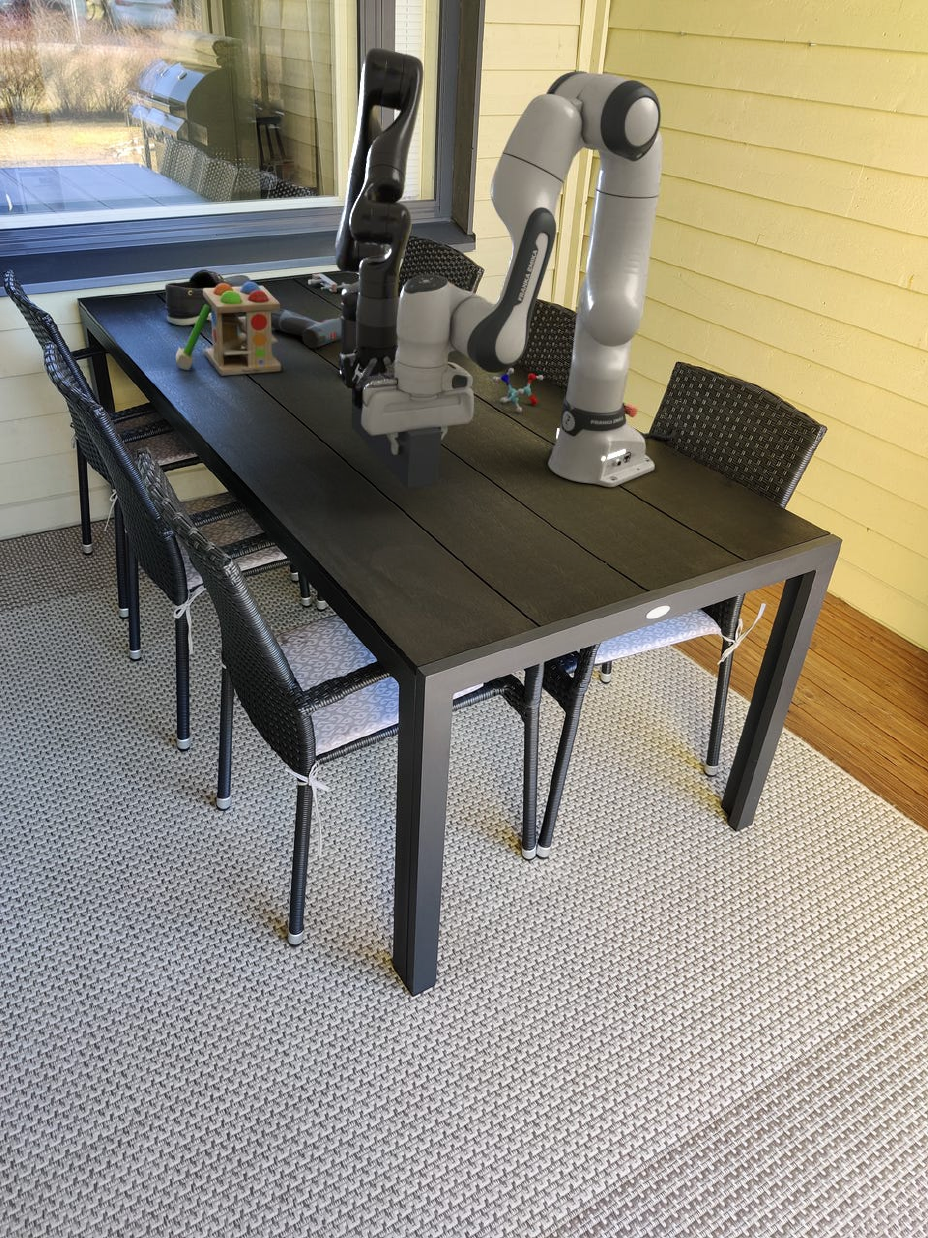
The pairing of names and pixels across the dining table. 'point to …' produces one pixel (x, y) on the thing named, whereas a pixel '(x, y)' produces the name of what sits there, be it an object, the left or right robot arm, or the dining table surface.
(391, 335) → the left robot arm
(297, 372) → the dining table surface
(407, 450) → the box
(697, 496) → the dining table surface
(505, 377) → the molecular model
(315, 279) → the clamp
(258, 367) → the pounding bench toy
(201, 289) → the boat shoe
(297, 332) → the power drill
